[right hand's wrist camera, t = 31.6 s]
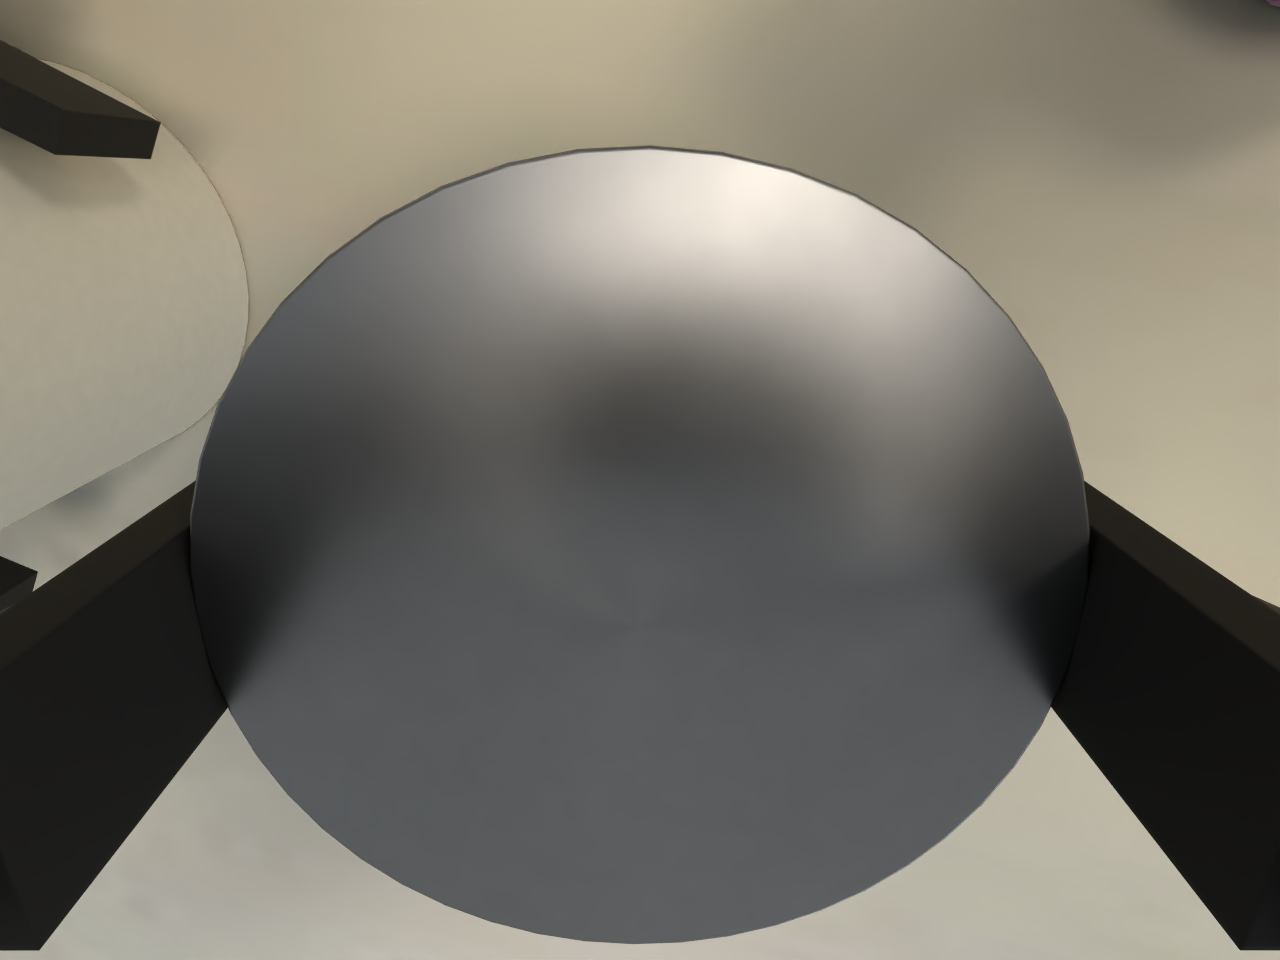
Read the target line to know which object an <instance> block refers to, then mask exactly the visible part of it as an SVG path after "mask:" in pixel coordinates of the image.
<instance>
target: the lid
mask: <svg viewBox="0 0 1280 960" xmlns="http://www.w3.org/2000/svg"><path fill="white" fill-rule="evenodd" d="M1089 542H1090V526H1089V518H1088V510H1087V502H1086V493H1085V485H1084V477H1083V472H1082V469H1081V465H1080V462H1079V458H1078V455H1077V451H1076V448H1075V444H1074V441H1073V437H1072V434H1071V430H1070V427H1069V423H1068V420H1067V417H1066V415H1065V413H1064V411H1063V409H1062V407H1061V404H1060V402H1059V400H1058V398H1057V396H1056V394H1055V391H1054V389H1053V387H1052V385H1051V383H1050V381H1049V379H1048V376H1047V374H1046V372H1045V370H1044V368H1043V366H1042V364H1041V363H1040V361H1039V360H1038V358H1037V357H1036V355H1035V354H1034V352H1033V351H1032V349H1031V348H1030V346H1029V345H1028V343H1027V342H1026V340H1025V339H1024V337H1023V336H1022V334H1021V333H1020V331H1019V330H1018V328H1017V327H1016V326H1015V324H1014V323H1013V321H1012V320H1011V318H1010V317H1009V315H1008V314H1007V313H1006V312H1005V311H1004V310H1003V309H1002V308H1001V307H1000V306H999V304H998V303H997V302H996V301H995V300H994V299H993V298H992V297H991V296H990V295H989V294H988V293H987V291H986V290H985V289H984V288H983V287H982V286H981V285H980V284H979V283H978V282H977V281H976V279H975V278H974V277H973V276H972V275H971V274H970V273H969V272H968V271H967V270H966V269H965V268H964V267H963V266H961V265H960V264H959V263H958V262H956V261H955V260H954V259H953V258H951V257H950V256H949V255H948V254H946V253H945V252H944V251H943V250H941V249H940V248H939V247H938V246H936V245H935V244H934V243H933V242H931V241H930V240H929V239H928V238H926V237H925V236H924V235H923V234H921V233H920V232H919V231H918V230H916V229H915V228H913V227H912V226H910V225H908V224H906V223H905V222H903V221H901V220H900V219H898V218H896V217H894V216H893V215H891V214H889V213H887V212H886V211H884V210H882V209H881V208H879V207H877V206H875V205H874V204H872V203H870V202H868V201H867V200H865V199H863V198H862V197H860V196H858V195H856V194H854V193H851V192H849V191H846V190H844V189H841V188H839V187H836V186H834V185H831V184H829V183H826V182H824V181H821V180H819V179H816V178H814V177H811V176H809V175H806V174H804V173H801V172H799V171H796V170H794V169H791V168H787V167H782V166H778V165H774V164H770V163H766V162H762V161H757V160H753V159H749V158H745V157H741V156H736V155H732V154H728V153H724V152H716V151H705V150H694V149H683V148H672V147H662V146H651V145H650V146H630V147H610V148H590V149H576V150H571V151H566V152H561V153H556V154H551V155H545V156H540V157H535V158H530V159H525V160H520V161H515V162H510V163H506V164H503V165H500V166H497V167H495V168H492V169H489V170H486V171H483V172H480V173H477V174H475V175H472V176H469V177H466V178H463V179H460V180H457V181H455V182H452V183H449V184H446V185H443V186H441V187H439V188H437V189H435V190H433V191H431V192H429V193H427V194H425V195H424V196H422V197H420V198H418V199H416V200H414V201H412V202H410V203H408V204H406V205H404V206H403V207H401V208H399V209H397V210H395V211H393V212H391V213H389V214H387V215H385V216H383V217H382V218H380V219H379V220H377V221H376V222H374V223H373V224H372V225H370V226H369V227H368V228H366V229H365V230H364V231H362V232H361V233H359V234H358V235H357V236H355V237H354V238H353V239H351V240H350V241H348V242H347V243H346V244H344V245H343V246H342V247H340V248H339V249H337V250H336V251H335V252H333V253H332V254H331V255H329V256H328V257H327V258H326V259H325V260H324V261H323V262H322V263H321V264H320V265H319V266H318V267H317V268H316V269H315V270H314V271H313V272H312V273H311V274H310V275H309V276H308V277H307V278H306V279H305V280H304V281H303V282H302V283H301V284H300V285H298V286H297V287H296V288H295V289H294V290H293V291H292V292H291V293H290V294H289V295H288V296H287V297H286V298H285V299H284V300H283V301H282V302H281V304H280V305H279V307H278V308H277V309H276V311H275V312H274V313H273V315H272V316H271V317H270V319H269V320H268V321H267V323H266V324H265V326H264V327H263V328H262V330H261V331H260V332H259V334H258V335H257V336H256V338H255V339H254V340H253V342H252V343H251V345H250V346H249V347H248V349H247V350H246V351H245V353H244V355H243V357H242V359H241V361H240V363H239V365H238V367H237V368H236V370H235V372H234V374H233V376H232V378H231V380H230V382H229V384H228V386H227V388H226V390H225V392H224V393H223V395H222V397H221V399H220V401H219V403H218V405H217V408H216V411H215V414H214V417H213V420H212V423H211V426H210V429H209V432H208V435H207V438H206V441H205V444H204V447H203V450H202V453H201V456H200V460H199V466H198V472H197V478H196V483H195V489H194V495H193V501H192V507H191V513H190V574H191V581H192V588H193V596H194V603H195V609H196V614H197V618H198V623H199V627H200V631H201V635H202V639H203V643H204V646H205V650H206V653H207V657H208V660H209V664H210V667H211V670H212V672H213V674H214V676H215V679H216V681H217V683H218V685H219V688H220V690H221V692H222V695H223V697H224V699H225V701H226V704H227V706H228V708H229V710H230V713H231V715H232V716H233V718H234V719H235V721H236V723H237V724H238V726H239V728H240V729H241V731H242V732H243V734H244V736H245V737H246V739H247V741H248V742H249V744H250V746H251V747H252V749H253V750H254V752H255V754H256V755H257V757H258V758H259V759H260V761H261V762H262V763H263V764H264V766H265V767H266V768H267V769H268V771H269V772H270V773H271V774H272V776H273V777H274V778H275V779H276V781H277V782H278V783H279V784H280V786H281V787H282V788H283V789H284V791H285V792H286V793H287V794H288V795H289V796H290V797H291V798H292V799H293V800H294V801H295V802H296V803H297V804H298V805H299V806H300V807H301V808H302V809H303V810H304V811H305V812H306V813H307V814H308V815H309V816H310V817H311V818H312V819H313V820H314V821H315V822H316V823H317V824H318V825H319V826H320V827H321V828H322V829H323V830H325V831H326V832H327V833H329V834H330V835H331V836H332V837H334V838H335V839H336V840H338V841H339V842H340V843H341V844H343V845H344V846H345V847H346V848H348V849H349V850H350V851H352V852H353V853H354V854H355V855H357V856H358V857H359V858H361V859H362V860H364V861H365V862H367V863H369V864H370V865H372V866H373V867H375V868H377V869H378V870H380V871H381V872H383V873H385V874H386V875H388V876H390V877H391V878H393V879H394V880H396V881H398V882H399V883H401V884H403V885H405V886H407V887H409V888H411V889H413V890H415V891H417V892H419V893H421V894H423V895H425V896H427V897H429V898H432V899H434V900H436V901H438V902H440V903H442V904H444V905H446V906H449V907H452V908H454V909H457V910H460V911H463V912H465V913H468V914H471V915H474V916H476V917H479V918H482V919H485V920H487V921H490V922H494V923H498V924H502V925H506V926H509V927H513V928H517V929H521V930H525V931H529V932H533V933H537V934H543V935H549V936H555V937H562V938H568V939H575V940H581V941H592V942H608V943H625V944H647V943H676V942H687V941H695V940H703V939H710V938H718V937H726V936H731V935H736V934H740V933H744V932H749V931H753V930H758V929H762V928H766V927H771V926H775V925H778V924H781V923H784V922H787V921H790V920H793V919H796V918H799V917H802V916H805V915H808V914H811V913H814V912H817V911H820V910H823V909H825V908H827V907H829V906H832V905H834V904H836V903H838V902H840V901H843V900H845V899H847V898H849V897H852V896H854V895H856V894H858V893H860V892H863V891H865V890H867V889H868V888H870V887H872V886H874V885H875V884H877V883H879V882H880V881H882V880H884V879H886V878H887V877H889V876H891V875H893V874H894V873H896V872H898V871H899V870H901V869H903V868H905V867H906V866H908V865H909V864H911V863H912V862H913V861H915V860H916V859H917V858H919V857H920V856H921V855H923V854H924V853H926V852H927V851H928V850H930V849H931V848H932V847H934V846H935V845H936V844H938V843H939V842H941V841H942V840H943V839H945V838H946V837H947V836H948V835H949V834H950V833H951V832H953V831H954V830H955V829H956V828H957V827H958V826H959V825H960V824H961V823H962V822H963V821H965V820H966V819H967V818H968V817H969V816H970V815H971V814H972V813H973V812H974V811H975V810H976V809H978V808H979V807H980V806H981V805H982V804H983V803H984V801H985V800H986V799H987V798H988V797H989V796H990V794H991V793H992V792H993V791H994V790H995V789H996V787H997V786H998V785H999V784H1000V783H1001V782H1002V780H1003V779H1004V778H1005V777H1006V776H1007V775H1008V773H1009V772H1010V771H1011V770H1012V769H1013V768H1014V766H1015V765H1016V763H1017V762H1018V760H1019V759H1020V757H1021V756H1022V754H1023V753H1024V751H1025V750H1026V748H1027V747H1028V745H1029V744H1030V742H1031V741H1032V739H1033V738H1034V736H1035V735H1036V733H1037V732H1038V730H1039V729H1040V727H1041V725H1042V723H1043V721H1044V719H1045V717H1046V715H1047V713H1048V711H1049V709H1050V707H1051V705H1052V703H1053V701H1054V699H1055V697H1056V695H1057V693H1058V691H1059V689H1060V687H1061V685H1062V683H1063V680H1064V677H1065V674H1066V671H1067V668H1068V665H1069V662H1070V659H1071V656H1072V653H1073V650H1074V646H1075V643H1076V639H1077V635H1078V631H1079V626H1080V621H1081V617H1082V612H1083V608H1084V603H1085V598H1086V592H1087V587H1088V576H1089Z"/></svg>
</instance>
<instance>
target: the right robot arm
mask: <svg viewBox="0 0 1280 960" xmlns="http://www.w3.org/2000/svg"><path fill="white" fill-rule="evenodd" d="M195 483H196V481H194V482H193V483H191V484H190V485H189V486H187V487H186V488H184V489H183V490H181V491H180V492H178V493H177V494H175V495H174V496H172V497H171V498H169V499H168V500H167V501H165V502H164V503H162V504H161V505H159V506H158V507H156V508H155V509H153V510H152V511H150V512H149V513H148V514H146V515H145V516H143V517H142V518H140V519H139V520H137V521H136V522H134V523H133V524H131V525H130V526H128V527H127V528H126V529H124V530H123V531H121V532H120V533H118V534H117V535H115V536H114V537H112V538H111V539H109V540H108V541H107V542H105V543H104V544H102V545H101V546H99V547H98V548H96V549H95V550H93V551H92V552H90V553H89V554H88V555H86V556H85V557H83V558H82V559H80V560H79V561H77V562H76V563H74V564H73V565H71V566H70V567H68V568H67V569H66V570H64V571H63V572H61V573H60V574H58V575H57V576H55V577H54V578H52V579H51V580H49V581H48V582H47V583H45V584H44V585H42V586H41V587H39V588H38V589H36V590H35V591H33V592H32V593H30V594H29V595H27V596H26V597H25V598H23V599H22V600H20V601H19V602H17V603H16V604H14V605H12V606H10V607H8V608H5V609H3V610H1V611H0V950H40V949H41V947H42V946H43V945H44V944H45V942H46V941H47V940H48V938H49V937H50V936H51V935H52V933H53V932H54V931H55V929H56V928H57V927H58V926H59V924H60V923H61V922H62V920H63V919H64V918H65V917H66V915H67V914H68V913H69V911H70V910H71V909H72V907H73V906H74V905H75V904H76V902H77V901H78V900H79V898H80V897H81V896H82V895H83V893H84V892H85V891H86V889H87V888H88V887H89V886H90V884H91V883H92V882H93V880H94V879H95V878H96V877H97V875H98V874H99V873H100V871H101V870H102V869H103V868H104V866H105V865H106V864H107V862H108V861H109V860H110V859H111V857H112V856H113V855H114V853H115V852H116V851H117V850H118V848H119V847H120V846H121V844H122V843H123V842H124V841H125V839H126V838H127V837H128V835H129V834H130V833H131V832H132V830H133V829H134V828H135V826H136V825H137V824H138V822H139V821H140V820H141V819H142V817H143V816H144V815H145V813H146V812H147V811H148V810H149V808H150V807H151V806H152V804H153V803H154V802H155V801H156V799H157V798H158V797H159V795H160V794H161V793H162V792H163V790H164V789H165V788H166V786H167V785H168V784H169V783H170V781H171V780H172V779H173V777H174V776H175V775H176V774H177V772H178V771H179V770H180V768H181V767H182V766H183V765H184V763H185V762H186V761H187V759H188V758H189V757H190V756H191V754H192V753H193V752H194V750H195V749H196V748H197V747H198V745H199V744H200V743H201V741H202V740H203V739H204V737H205V736H206V735H207V734H208V732H209V731H210V730H211V728H212V727H213V726H214V725H215V723H216V722H217V721H218V719H219V718H220V717H221V716H222V714H223V713H224V712H225V710H226V709H227V708H228V706H227V704H226V701H225V699H224V697H223V695H222V692H221V690H220V688H219V685H218V683H217V681H216V679H215V676H214V674H213V672H212V670H211V667H210V664H209V660H208V657H207V653H206V650H205V646H204V643H203V639H202V635H201V631H200V627H199V623H198V618H197V614H196V609H195V603H194V596H193V588H192V581H191V574H190V513H191V507H192V501H193V495H194V489H195ZM1084 485H1085V493H1086V502H1087V510H1088V518H1089V526H1090V542H1089V576H1088V587H1087V592H1086V598H1085V603H1084V608H1083V612H1082V617H1081V621H1080V626H1079V631H1078V635H1077V639H1076V643H1075V646H1074V650H1073V653H1072V656H1071V659H1070V662H1069V665H1068V668H1067V671H1066V674H1065V677H1064V680H1063V683H1062V685H1061V687H1060V689H1059V691H1058V693H1057V695H1056V697H1055V699H1054V701H1053V703H1052V705H1051V707H1052V709H1053V710H1054V711H1055V712H1056V714H1057V715H1058V716H1059V718H1060V719H1061V720H1062V721H1063V723H1064V724H1065V725H1066V727H1067V728H1068V729H1069V730H1070V732H1071V733H1072V734H1073V736H1074V737H1075V738H1076V739H1077V741H1078V742H1079V743H1080V745H1081V746H1082V747H1083V748H1084V750H1085V751H1086V752H1087V754H1088V755H1089V756H1090V758H1091V759H1092V760H1093V761H1094V763H1095V764H1096V765H1097V767H1098V768H1099V769H1100V770H1101V772H1102V773H1103V774H1104V776H1105V777H1106V778H1107V779H1108V781H1109V782H1110V783H1111V785H1112V786H1113V787H1114V788H1115V790H1116V791H1117V792H1118V794H1119V795H1120V796H1121V797H1122V799H1123V800H1124V801H1125V803H1126V804H1127V805H1128V806H1129V808H1130V809H1131V810H1132V812H1133V813H1134V814H1135V815H1136V817H1137V818H1138V819H1139V821H1140V822H1141V823H1142V824H1143V826H1144V827H1145V828H1146V830H1147V831H1148V832H1149V834H1150V835H1151V836H1152V837H1153V839H1154V840H1155V841H1156V843H1157V844H1158V845H1159V846H1160V848H1161V849H1162V850H1163V852H1164V853H1165V854H1166V855H1167V857H1168V858H1169V859H1170V861H1171V862H1172V863H1173V864H1174V866H1175V867H1176V868H1177V870H1178V871H1179V872H1180V873H1181V875H1182V876H1183V877H1184V879H1185V880H1186V881H1187V882H1188V884H1189V885H1190V886H1191V888H1192V889H1193V890H1194V891H1195V893H1196V894H1197V895H1198V897H1199V898H1200V899H1201V900H1202V902H1203V903H1204V904H1205V906H1206V907H1207V908H1208V910H1209V911H1210V912H1211V913H1212V915H1213V916H1214V917H1215V919H1216V920H1217V921H1218V922H1219V924H1220V925H1221V926H1222V928H1223V929H1224V930H1225V931H1226V933H1227V934H1228V935H1229V937H1230V938H1231V939H1232V940H1233V942H1234V943H1235V944H1236V946H1237V947H1238V948H1239V949H1240V950H1280V608H1279V607H1277V606H1275V605H1273V604H1270V603H1268V602H1266V601H1264V600H1261V599H1259V598H1257V597H1254V596H1252V595H1250V594H1249V593H1247V592H1246V591H1245V590H1243V589H1242V588H1240V587H1239V586H1237V585H1236V584H1234V583H1233V582H1231V581H1230V580H1228V579H1227V578H1226V577H1224V576H1223V575H1221V574H1220V573H1218V572H1217V571H1215V570H1214V569H1212V568H1211V567H1209V566H1208V565H1207V564H1205V563H1204V562H1202V561H1201V560H1199V559H1198V558H1196V557H1195V556H1193V555H1192V554H1190V553H1189V552H1187V551H1186V550H1185V549H1183V548H1182V547H1180V546H1179V545H1177V544H1176V543H1174V542H1173V541H1171V540H1170V539H1168V538H1167V537H1166V536H1164V535H1163V534H1161V533H1160V532H1158V531H1157V530H1155V529H1154V528H1152V527H1151V526H1149V525H1148V524H1147V523H1145V522H1144V521H1142V520H1141V519H1139V518H1138V517H1136V516H1135V515H1133V514H1132V513H1130V512H1129V511H1127V510H1126V509H1125V508H1123V507H1122V506H1120V505H1119V504H1117V503H1116V502H1114V501H1113V500H1111V499H1110V498H1108V497H1107V496H1106V495H1104V494H1103V493H1101V492H1100V491H1098V490H1097V489H1095V488H1094V487H1092V486H1091V485H1089V484H1088V483H1087V482H1085V481H1084Z"/></svg>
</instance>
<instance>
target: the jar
mask: <svg viewBox="0 0 1280 960" xmlns="http://www.w3.org/2000/svg"><path fill="white" fill-rule="evenodd" d="M38 60H40V59H38ZM40 61H42V62H44V63H46V64H48V65H50V66H52V67H54V68H56V69H57V70H59V71H61V72H63V73H65V74H67V75H69V76H71V77H73V78H75V79H77V80H79V81H81V82H83V83H85V84H87V85H89V86H91V87H93V88H95V89H97V90H98V91H100V92H102V93H104V94H106V95H108V96H110V97H112V98H114V99H116V100H118V101H120V102H122V103H124V104H126V105H128V106H130V107H132V108H134V109H136V110H137V111H139V112H141V113H143V114H145V115H147V116H149V117H151V118H153V119H155V120H157V119H156V118H154V117H153V116H152V115H151V114H149V113H148V112H147V111H146V110H144V109H143V108H142V107H141V106H139V105H138V104H137V103H136V102H134V101H133V100H131V99H130V98H128V97H126V96H125V95H123V94H122V93H120V92H119V91H117V90H115V89H114V88H112V87H111V86H109V85H107V84H105V83H103V82H101V81H99V80H97V79H95V78H93V77H91V76H89V75H87V74H85V73H83V72H80V71H77V70H74V69H71V68H68V67H66V66H63V65H60V64H57V63H54V62H49V61H45V60H40ZM157 121H158V120H157ZM248 306H249V294H248V286H247V277H246V269H245V265H244V261H243V257H242V253H241V248H240V244H239V242H238V239H237V236H236V233H235V231H234V228H233V225H232V223H231V220H230V217H229V215H228V213H227V211H226V209H225V208H224V206H223V204H222V202H221V200H220V198H219V196H218V194H217V192H216V190H215V189H214V187H213V186H212V184H211V182H210V181H209V179H208V178H207V176H206V175H205V173H204V172H203V170H202V169H201V167H200V166H199V165H198V163H197V162H196V161H195V160H194V158H193V157H192V156H191V155H190V154H189V152H188V151H187V150H186V149H185V147H184V146H183V145H182V144H181V143H180V142H179V141H178V140H177V139H176V138H175V137H174V136H173V135H172V134H171V133H170V132H169V131H168V130H167V129H166V128H165V127H164V126H163V125H162V124H160V128H159V131H158V135H157V139H156V142H155V146H154V149H153V153H152V157H151V159H134V158H112V157H90V156H69V155H54V154H52V153H50V152H48V151H46V150H44V149H42V148H40V147H38V146H36V145H34V144H32V143H30V142H28V141H26V140H24V139H22V138H20V137H18V136H16V135H14V134H12V133H10V132H8V131H6V130H4V129H2V128H0V530H1V529H3V528H5V527H7V526H9V525H10V524H12V523H14V522H16V521H18V520H20V519H22V518H23V517H25V516H27V515H29V514H31V513H33V512H35V511H36V510H38V509H40V508H42V507H44V506H46V505H48V504H49V503H51V502H53V501H55V500H57V499H59V498H61V497H62V496H64V495H66V494H68V493H70V492H72V491H74V490H75V489H77V488H79V487H81V486H83V485H85V484H87V483H89V482H90V481H92V480H94V479H96V478H98V477H100V476H102V475H103V474H105V473H107V472H109V471H111V470H113V469H115V468H116V467H118V466H120V465H122V464H124V463H126V462H128V461H129V460H131V459H133V458H135V457H137V456H139V455H141V454H142V453H144V452H146V451H148V450H150V449H152V448H154V447H155V446H157V445H159V444H161V443H163V442H165V441H167V440H168V439H170V438H172V437H174V436H176V435H178V434H180V433H181V432H183V431H185V430H186V429H188V428H189V427H190V426H192V425H193V424H194V423H196V422H197V421H198V420H200V419H201V418H202V417H203V416H204V415H205V414H206V413H207V412H208V411H209V410H210V409H211V408H212V407H213V406H214V405H215V404H216V402H217V401H218V400H219V398H220V397H221V395H222V394H223V392H224V391H225V390H226V388H227V386H228V384H229V382H230V380H231V378H232V376H233V374H234V372H235V370H236V368H237V367H238V364H239V360H240V357H241V354H242V351H243V347H244V344H245V338H246V332H247V325H248Z"/></svg>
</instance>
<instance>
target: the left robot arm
mask: <svg viewBox="0 0 1280 960" xmlns="http://www.w3.org/2000/svg"><path fill="white" fill-rule="evenodd" d="M160 124H161V122H159V121H157V120H155V119H153V118H151V117H149V116H147V115H145V114H143V113H141V112H139V111H137V110H136V109H134V108H132V107H130V106H128V105H126V104H124V103H122V102H120V101H118V100H116V99H114V98H112V97H110V96H108V95H106V94H104V93H102V92H100V91H98V90H97V89H95V88H93V87H91V86H89V85H87V84H85V83H83V82H81V81H79V80H77V79H75V78H73V77H71V76H69V75H67V74H65V73H63V72H61V71H59V70H57V69H56V68H54V67H52V66H50V65H48V64H46V63H44V62H42V61H40V60H38V59H36V58H34V57H32V56H30V55H28V54H26V53H24V52H22V51H20V50H18V49H16V48H15V47H13V46H11V45H9V44H7V43H5V42H3V41H1V40H0V128H2V129H4V130H6V131H8V132H10V133H12V134H14V135H16V136H18V137H20V138H22V139H24V140H26V141H28V142H30V143H32V144H34V145H36V146H38V147H40V148H42V149H44V150H46V151H48V152H50V153H52V154H54V155H69V156H90V157H112V158H134V159H151V157H152V153H153V149H154V146H155V142H156V139H157V135H158V131H159V128H160ZM37 573H38V572H37V571H35V570H33V569H30V568H28V567H25V566H23V565H20V564H18V563H16V562H13V561H11V560H8V559H6V558H3V557H1V556H0V611H1V610H3V609H5V608H8V607H10V606H12V605H14V604H16V603H17V602H19V601H20V600H22V599H23V598H25V597H26V596H27V595H29V594H30V593H32V591H33V588H34V584H35V581H36V577H37Z"/></svg>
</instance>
